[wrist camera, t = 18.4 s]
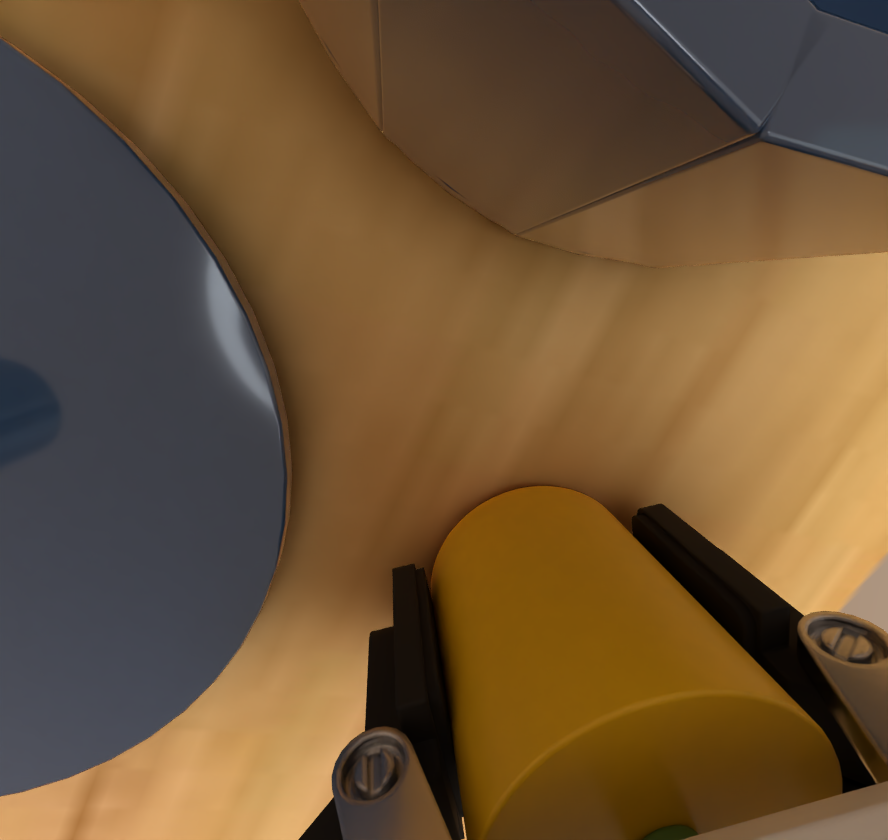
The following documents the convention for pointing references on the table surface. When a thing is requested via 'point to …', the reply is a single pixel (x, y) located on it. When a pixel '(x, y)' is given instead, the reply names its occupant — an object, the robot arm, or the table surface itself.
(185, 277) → the lid
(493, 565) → the yellow cylinder with peg
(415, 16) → the pan
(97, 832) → the table surface
